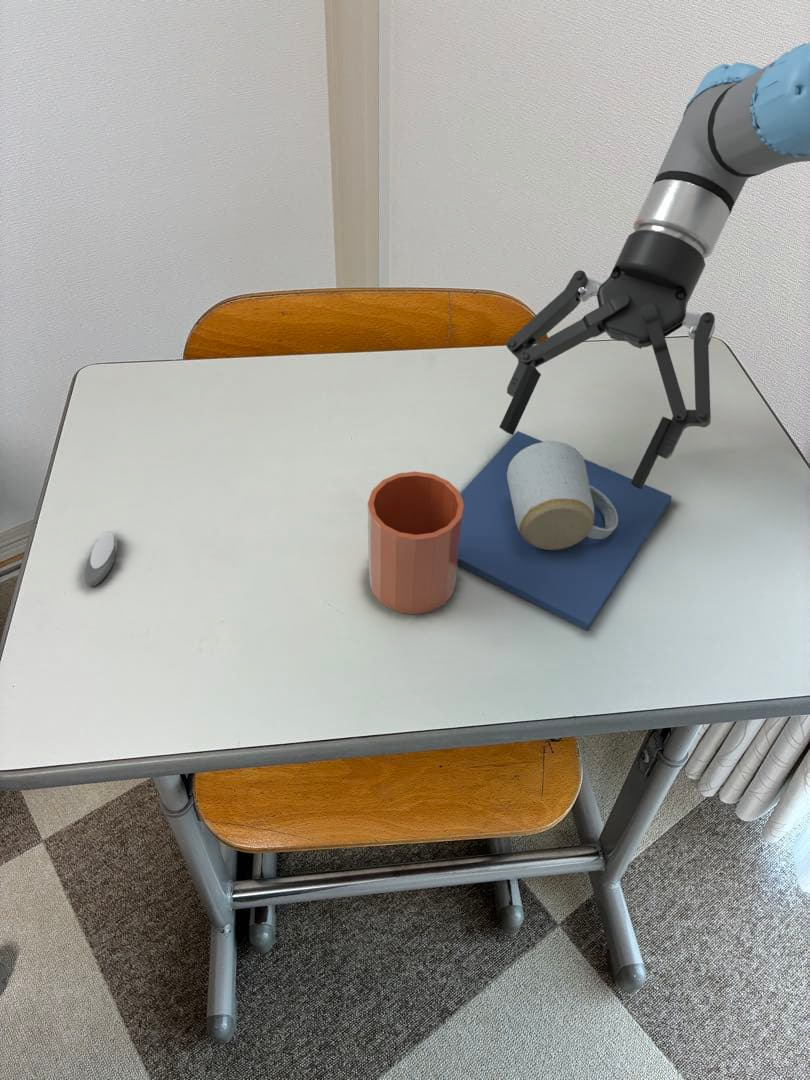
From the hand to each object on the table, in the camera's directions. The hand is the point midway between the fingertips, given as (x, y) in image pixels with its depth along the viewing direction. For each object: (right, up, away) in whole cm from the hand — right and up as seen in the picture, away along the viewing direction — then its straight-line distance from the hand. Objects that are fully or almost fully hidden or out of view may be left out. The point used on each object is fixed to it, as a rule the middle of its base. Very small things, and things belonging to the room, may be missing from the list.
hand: (568, 458), depth 76 cm
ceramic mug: (0, -6, +3) cm, 7 cm away
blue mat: (-1, -6, +4) cm, 8 cm away
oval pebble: (-44, -10, 0) cm, 45 cm away
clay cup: (-15, -12, -1) cm, 19 cm away
